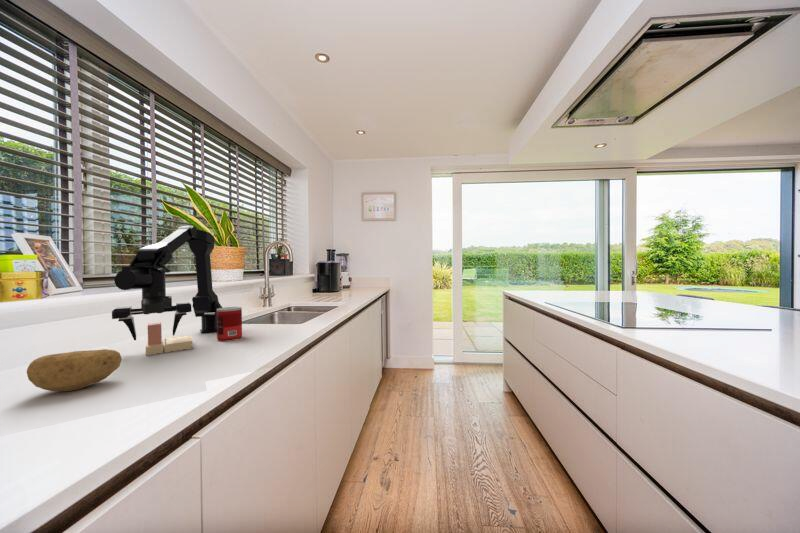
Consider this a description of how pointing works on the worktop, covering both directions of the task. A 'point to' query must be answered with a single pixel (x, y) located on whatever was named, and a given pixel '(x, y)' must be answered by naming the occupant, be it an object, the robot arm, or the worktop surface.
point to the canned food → (229, 323)
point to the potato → (73, 369)
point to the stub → (154, 339)
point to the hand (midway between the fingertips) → (155, 337)
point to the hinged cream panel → (178, 343)
